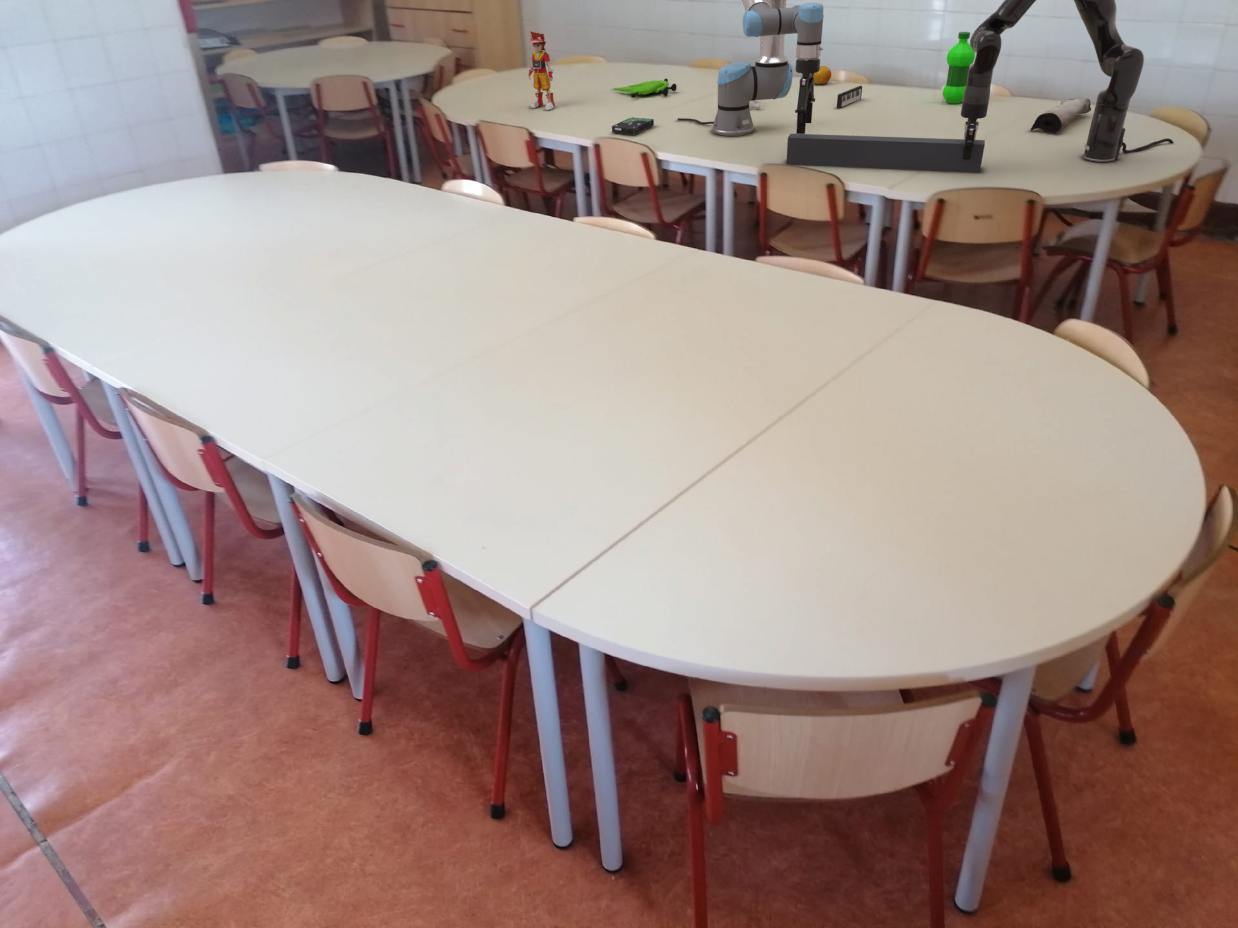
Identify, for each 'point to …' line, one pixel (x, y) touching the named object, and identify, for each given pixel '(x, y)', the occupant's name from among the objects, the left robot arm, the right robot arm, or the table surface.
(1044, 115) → the rolled mat
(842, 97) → the midi keyboard
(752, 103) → the anatomical model
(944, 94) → the plastic bottle
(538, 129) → the table surface
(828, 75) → the fruit
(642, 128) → the disk drive
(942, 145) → the beam
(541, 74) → the toy
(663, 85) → the toy
